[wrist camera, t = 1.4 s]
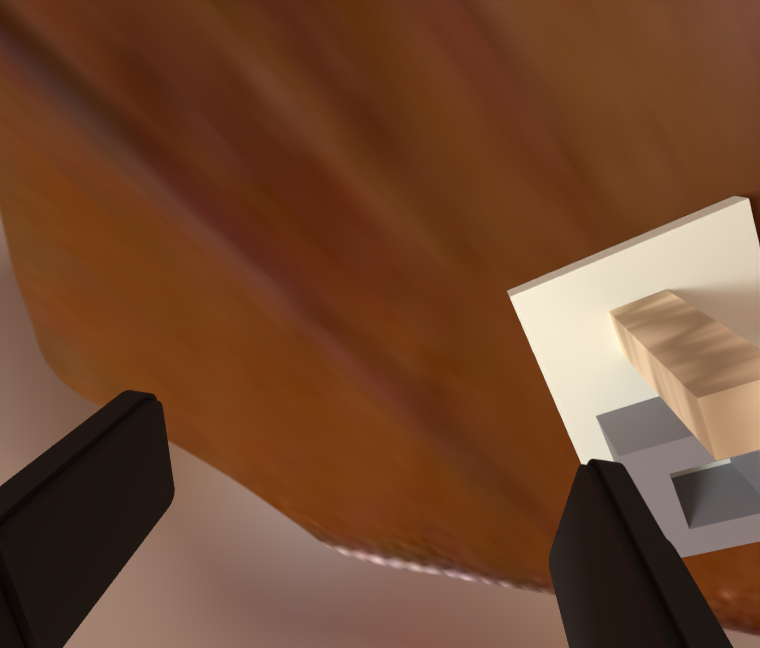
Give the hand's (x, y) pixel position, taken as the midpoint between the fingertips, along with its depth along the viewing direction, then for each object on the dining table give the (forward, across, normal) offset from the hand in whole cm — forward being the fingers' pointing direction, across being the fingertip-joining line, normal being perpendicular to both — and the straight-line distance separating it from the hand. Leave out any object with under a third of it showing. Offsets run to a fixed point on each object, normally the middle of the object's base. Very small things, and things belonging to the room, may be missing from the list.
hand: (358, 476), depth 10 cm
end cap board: (+26, -21, +9) cm, 34 cm away
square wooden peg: (+24, -17, +4) cm, 30 cm away
